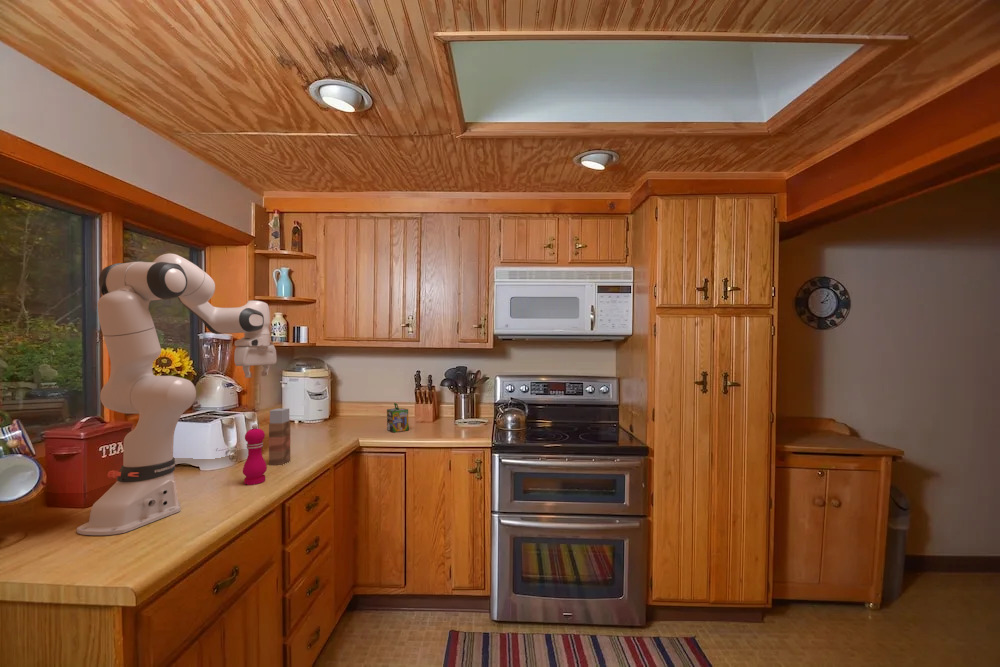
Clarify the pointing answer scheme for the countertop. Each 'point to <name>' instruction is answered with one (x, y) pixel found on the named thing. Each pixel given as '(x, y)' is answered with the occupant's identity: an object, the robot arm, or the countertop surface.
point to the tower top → (279, 429)
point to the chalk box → (397, 419)
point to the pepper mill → (254, 457)
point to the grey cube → (279, 415)
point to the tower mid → (279, 443)
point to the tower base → (279, 457)
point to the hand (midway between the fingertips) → (256, 376)
